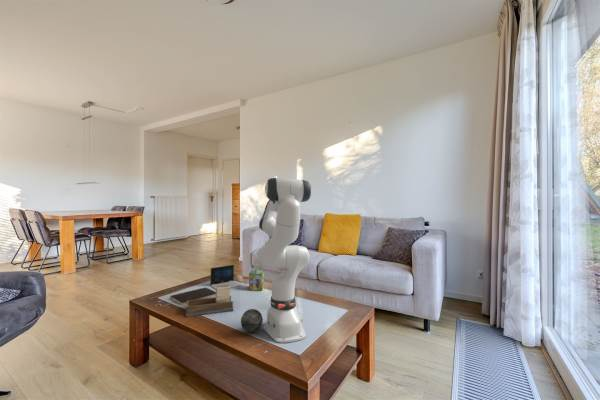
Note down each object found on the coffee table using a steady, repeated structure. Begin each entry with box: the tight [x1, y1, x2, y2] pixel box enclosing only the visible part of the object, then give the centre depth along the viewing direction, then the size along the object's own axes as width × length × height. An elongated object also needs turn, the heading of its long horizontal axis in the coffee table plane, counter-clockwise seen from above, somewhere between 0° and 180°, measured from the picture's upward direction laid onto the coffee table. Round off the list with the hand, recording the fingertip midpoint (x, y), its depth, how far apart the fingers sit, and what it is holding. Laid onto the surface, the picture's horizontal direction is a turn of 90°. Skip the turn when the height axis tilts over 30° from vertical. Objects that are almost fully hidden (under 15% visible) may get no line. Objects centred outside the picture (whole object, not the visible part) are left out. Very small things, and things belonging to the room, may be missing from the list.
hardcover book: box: [169, 287, 216, 306], centre depth 169 cm, size 16×23×2 cm
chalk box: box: [248, 266, 265, 291], centre depth 187 cm, size 9×9×15 cm
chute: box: [185, 295, 234, 318], centre depth 151 cm, size 16×24×4 cm, turn 111°
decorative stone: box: [240, 308, 264, 333], centre depth 126 cm, size 10×10×10 cm
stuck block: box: [215, 285, 231, 303], centre depth 154 cm, size 7×7×10 cm
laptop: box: [209, 264, 242, 290], centre depth 192 cm, size 18×12×13 cm
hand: (255, 264), depth 160 cm, fingers closed
